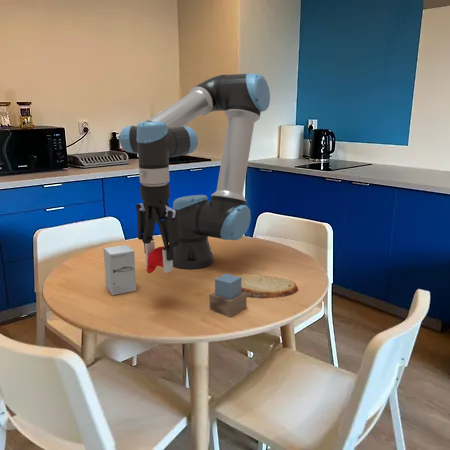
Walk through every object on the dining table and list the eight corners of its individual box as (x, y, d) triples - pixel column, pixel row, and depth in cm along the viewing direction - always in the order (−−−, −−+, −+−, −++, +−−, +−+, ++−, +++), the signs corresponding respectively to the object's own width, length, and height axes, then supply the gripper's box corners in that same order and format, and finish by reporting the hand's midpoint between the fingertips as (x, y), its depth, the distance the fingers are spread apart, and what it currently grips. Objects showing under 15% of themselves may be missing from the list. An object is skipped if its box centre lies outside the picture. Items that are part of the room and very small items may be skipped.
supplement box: (111, 296, 130) (108, 254, 127) (105, 287, 137) (102, 247, 133) (137, 291, 133) (134, 250, 130) (129, 283, 140) (127, 243, 137)
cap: (162, 251, 127) (145, 244, 123) (176, 248, 123) (159, 241, 119) (157, 278, 124) (140, 272, 120) (171, 276, 120) (154, 270, 116)
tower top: (215, 295, 120) (214, 279, 119) (226, 289, 124) (226, 273, 123) (230, 299, 117) (230, 283, 116) (241, 293, 121) (241, 277, 120)
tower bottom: (209, 310, 121) (209, 294, 120) (226, 301, 127) (226, 286, 126) (229, 317, 117) (229, 301, 116) (246, 308, 122) (246, 293, 121)
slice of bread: (303, 291, 134) (304, 279, 133) (259, 308, 123) (259, 295, 122) (261, 274, 147) (261, 263, 147) (217, 288, 136) (217, 276, 135)
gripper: (119, 181, 119) (125, 264, 125) (169, 190, 107) (174, 281, 113) (141, 177, 125) (146, 257, 131) (192, 185, 113) (195, 272, 119)
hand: (159, 268), depth 122 cm, fingers closed on cap, 6 cm apart
